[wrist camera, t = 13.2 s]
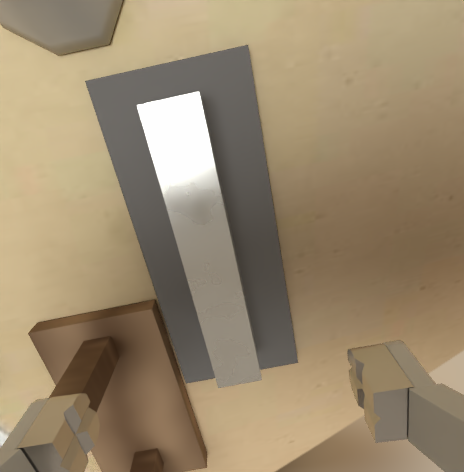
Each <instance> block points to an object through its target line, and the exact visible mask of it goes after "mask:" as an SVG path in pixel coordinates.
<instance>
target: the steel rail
mask: <svg viewBox="0 0 464 472" xmlns="http://www.w3.org/2000/svg"><path fill="white" fill-rule="evenodd" d="M137 107H138V111H139V114H140V118H141V121H142V125H143V128H144V132H145V135H146V138H147V142H148V145H149V149H150V152H151V156H152V159H153V163H154V166H155V170H156V173H157V177H158V180H159V184H160V187H161V191H162V194H163V197H164V201H165V204H166V208H167V211H168V215H169V218H170V222H171V225H172V229H173V232H174V236H175V239H176V243H177V246H178V250H179V253H180V256H181V260H182V263H183V267H184V270H185V274H186V277H187V281H188V284H189V288H190V291H191V295H192V298H193V302H194V305H195V309H196V312H197V315H198V319H199V322H200V326H201V329H202V333H203V336H204V340H205V343H206V347H207V350H208V354H209V357H210V361H211V364H212V368H213V371H214V374H215V378H216V381H217V385H218V388H221V387H227V386H232V385H238V384H243V383H248V382H254V381H259V380H262V377H261V371H260V365H259V359H258V353H257V347H256V343H255V338H254V333H253V329H252V324H251V319H250V315H249V310H248V306H247V301H246V296H245V292H244V287H243V282H242V278H241V273H240V268H239V264H238V259H237V255H236V250H235V245H234V241H233V236H232V231H231V227H230V222H229V217H228V213H227V208H226V204H225V199H224V194H223V190H222V185H221V180H220V176H219V171H218V166H217V162H216V157H215V152H214V148H213V143H212V139H211V134H210V129H209V125H208V120H207V115H206V111H205V106H204V101H203V97H202V95H201V93H200V92H195V93H190V94H186V95H181V96H177V97H172V98H168V99H163V100H159V101H154V102H149V103H145V104H140V105H137Z"/></svg>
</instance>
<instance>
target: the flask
mask: <svg viewBox="0 0 464 472" xmlns="http://www.w3.org/2000/svg"><path fill="white" fill-rule="evenodd" d="M122 2H123V0H0V24H1V25H2V26H3V28H5V29H7V30H9V31H11V32H13V33H15V34H17V35H19V36H21V37H23V38H25V39H27V40H29V41H31V42H33V43H35V44H37V45H39V46H41V47H43V48H45V49H47V50H49V51H51V52H53V53H55V54H57V55H62V54H67V53H72V52H76V51H81V50H86V49H90V48H95V47H99V46H104V45H109V44H110V41H111V37H112V34H113V31H114V28H115V24H116V21H117V18H118V15H119V11H120V8H121V5H122Z"/></svg>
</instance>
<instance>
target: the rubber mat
mask: <svg viewBox="0 0 464 472" xmlns="http://www.w3.org/2000/svg"><path fill="white" fill-rule="evenodd" d="M85 82H86V85H87V88H88V91H89V94H90V97H91V100H92V103H93V106H94V109H95V112H96V115H97V118H98V121H99V124H100V127H101V130H102V133H103V136H104V139H105V142H106V145H107V148H108V151H109V154H110V157H111V160H112V163H113V166H114V169H115V172H116V175H117V178H118V181H119V184H120V187H121V190H122V193H123V196H124V199H125V202H126V205H127V208H128V211H129V214H130V217H131V220H132V223H133V226H134V229H135V232H136V235H137V238H138V241H139V244H140V247H141V250H142V253H143V256H144V259H145V262H146V265H147V268H148V271H149V274H150V277H151V280H152V283H153V286H154V289H155V292H156V295H157V298H158V301H159V304H160V307H161V310H162V313H163V316H164V319H165V322H166V325H167V328H168V331H169V334H170V337H171V340H172V343H173V346H174V349H175V352H176V355H177V358H178V361H179V364H180V367H181V370H182V373H183V376H184V379H185V382H186V383H191V382H197V381H202V380H208V379H213V378H215V374H214V371H213V368H212V364H211V361H210V357H209V354H208V350H207V347H206V343H205V340H204V336H203V333H202V329H201V326H200V322H199V319H198V315H197V312H196V309H195V305H194V302H193V298H192V295H191V291H190V288H189V284H188V281H187V277H186V274H185V270H184V267H183V263H182V260H181V256H180V253H179V250H178V246H177V243H176V239H175V236H174V232H173V229H172V225H171V222H170V218H169V215H168V211H167V208H166V204H165V201H164V197H163V194H162V191H161V187H160V184H159V180H158V177H157V173H156V170H155V166H154V163H153V159H152V156H151V152H150V149H149V145H148V142H147V138H146V135H145V132H144V128H143V125H142V121H141V118H140V114H139V111H138V107H137V105H140V104H145V103H149V102H154V101H159V100H163V99H168V98H172V97H177V96H181V95H186V94H190V93H195V92H200V93H201V95H202V97H203V101H204V106H205V111H206V115H207V120H208V125H209V129H210V134H211V139H212V143H213V148H214V152H215V157H216V162H217V166H218V171H219V176H220V180H221V185H222V190H223V194H224V199H225V204H226V208H227V213H228V217H229V222H230V227H231V231H232V236H233V241H234V245H235V250H236V255H237V259H238V264H239V268H240V273H241V278H242V282H243V287H244V292H245V296H246V301H247V306H248V310H249V315H250V319H251V324H252V329H253V333H254V338H255V343H256V347H257V353H258V359H259V365H260V370H261V369H267V368H272V367H277V366H283V365H288V364H293V363H298V360H297V353H296V347H295V340H294V334H293V328H292V321H291V315H290V309H289V302H288V296H287V290H286V283H285V277H284V271H283V264H282V258H281V251H280V245H279V239H278V232H277V226H276V220H275V213H274V207H273V201H272V194H271V188H270V182H269V175H268V169H267V162H266V156H265V150H264V143H263V137H262V131H261V124H260V118H259V112H258V105H257V99H256V93H255V86H254V80H253V73H252V67H251V61H250V54H249V48H248V45H245V46H241V47H236V48H232V49H227V50H223V51H218V52H214V53H209V54H205V55H200V56H196V57H191V58H187V59H182V60H178V61H173V62H169V63H164V64H160V65H155V66H151V67H146V68H142V69H137V70H133V71H128V72H124V73H119V74H115V75H110V76H106V77H101V78H97V79H92V80H88V81H85Z"/></svg>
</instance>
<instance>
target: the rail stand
mask: <svg viewBox="0 0 464 472" xmlns="http://www.w3.org/2000/svg"><path fill="white" fill-rule="evenodd" d="M28 334H29V336H30V338H31V340H32V342H33V343H34V345H35V347H36V349H37V351H38V353H39V355H40V357H41V358H42V360H43V362H44V364H45V366H46V368H47V370H48V372H49V373H50V375H51V377H52V379H53V381H54V383H55V385H56V387H55V389H54V390H53V392H52V394H51V395H50V397H49V398H52V397H57V396H65V395H72V394H79V393H84V394H87V396H88V398H89V400H90V404H89V408H91V409H92V410H94V411H95V412H96V413H97V415H98V418H99V424H100V427H99V435H98V438H97V441H96V444H95V446H94V447H93V448H92V449H91V452H92V454H93V456H94V457H95V459H96V461H97V463H98V465H99V467H100V469H101V471H102V472H185V471H190V470H196V469H201V468H207V452H206V449H205V446H204V443H203V440H202V437H201V434H200V431H199V428H198V425H197V422H196V419H195V416H194V413H193V410H192V407H191V404H190V402H189V399H188V396H187V393H186V390H185V387H184V384H183V381H182V378H181V375H180V372H179V369H178V366H177V363H176V360H175V357H174V354H173V351H172V348H171V345H170V342H169V339H168V336H167V334H166V331H165V328H164V325H163V322H162V319H161V316H160V313H159V310H158V307H157V304H156V301H155V300H151V301H146V302H141V303H136V304H131V305H126V306H121V307H115V308H110V309H105V310H100V311H95V312H90V313H85V314H80V315H75V316H70V317H65V318H59V319H54V320H49V321H44V322H39V323H37V324H36V325H35V326H34V327H33V328H32V329H31V331H30V332H29V333H28Z"/></svg>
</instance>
